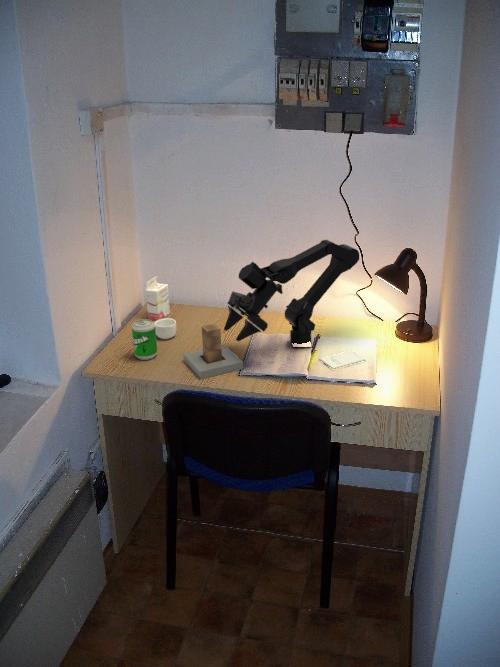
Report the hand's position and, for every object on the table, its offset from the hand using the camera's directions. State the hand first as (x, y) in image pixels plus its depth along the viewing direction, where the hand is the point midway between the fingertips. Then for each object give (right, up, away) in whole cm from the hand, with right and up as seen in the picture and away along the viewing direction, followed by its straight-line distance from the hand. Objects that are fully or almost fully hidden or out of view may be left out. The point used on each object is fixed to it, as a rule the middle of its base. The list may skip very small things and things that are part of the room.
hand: (230, 335), depth 209 cm
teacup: (-23, 0, +23) cm, 32 cm away
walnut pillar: (-6, -9, +1) cm, 11 cm away
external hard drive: (+36, -9, +2) cm, 37 cm away
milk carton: (-28, +7, +39) cm, 49 cm away
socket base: (-6, -9, +1) cm, 11 cm away
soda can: (-28, -7, +8) cm, 30 cm away
